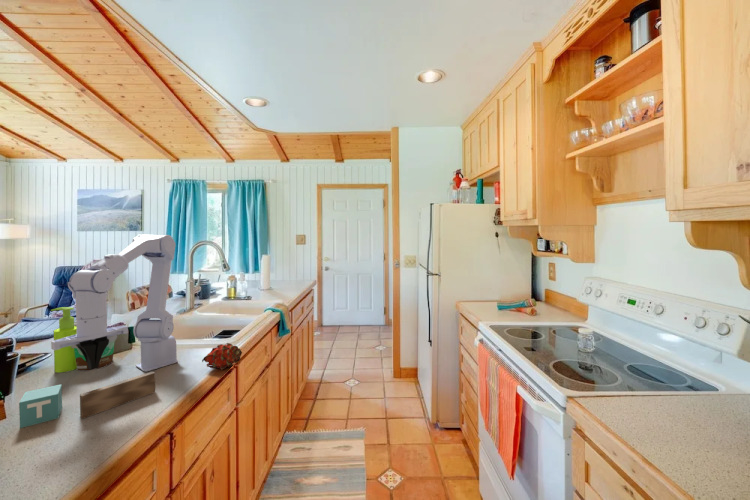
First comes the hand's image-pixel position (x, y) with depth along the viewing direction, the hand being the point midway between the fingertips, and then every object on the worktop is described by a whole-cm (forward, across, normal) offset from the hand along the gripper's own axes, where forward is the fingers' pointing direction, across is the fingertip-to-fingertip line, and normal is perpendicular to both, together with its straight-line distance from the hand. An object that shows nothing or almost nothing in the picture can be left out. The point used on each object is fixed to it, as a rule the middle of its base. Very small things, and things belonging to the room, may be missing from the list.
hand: (93, 367), depth 77 cm
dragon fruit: (+10, -30, +10) cm, 33 cm away
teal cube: (+9, +9, -2) cm, 13 cm away
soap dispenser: (+10, -4, -32) cm, 34 cm away
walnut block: (+9, -3, +6) cm, 12 cm away
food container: (+10, -11, -26) cm, 30 cm away
